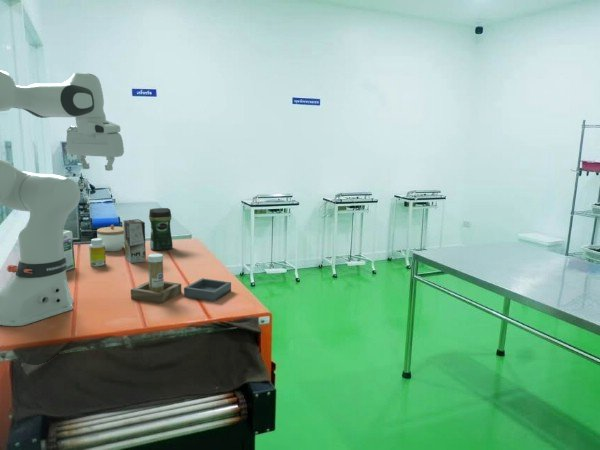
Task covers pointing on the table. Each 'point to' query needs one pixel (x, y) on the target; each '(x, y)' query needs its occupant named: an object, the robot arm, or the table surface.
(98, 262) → the supplement bottle
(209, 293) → the tray
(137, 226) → the coffee box
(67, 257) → the syrup box
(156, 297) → the socket block
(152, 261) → the sprinkles bottle
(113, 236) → the lidded bowl
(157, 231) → the coffee jar
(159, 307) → the table surface
